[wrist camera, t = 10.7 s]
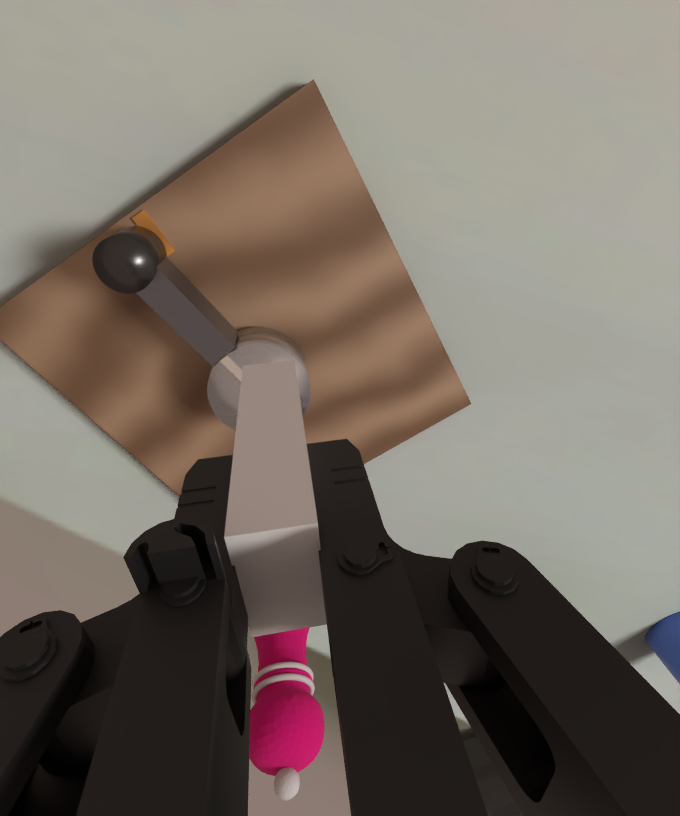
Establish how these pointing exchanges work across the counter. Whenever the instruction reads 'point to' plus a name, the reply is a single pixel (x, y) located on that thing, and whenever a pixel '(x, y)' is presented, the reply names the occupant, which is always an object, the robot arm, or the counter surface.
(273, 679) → the pepper mill
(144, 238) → the dark grey dumbbell shape
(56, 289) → the wooden cutting board
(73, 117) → the counter surface
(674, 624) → the water bottle
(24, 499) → the counter surface
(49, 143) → the counter surface
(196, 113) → the counter surface
